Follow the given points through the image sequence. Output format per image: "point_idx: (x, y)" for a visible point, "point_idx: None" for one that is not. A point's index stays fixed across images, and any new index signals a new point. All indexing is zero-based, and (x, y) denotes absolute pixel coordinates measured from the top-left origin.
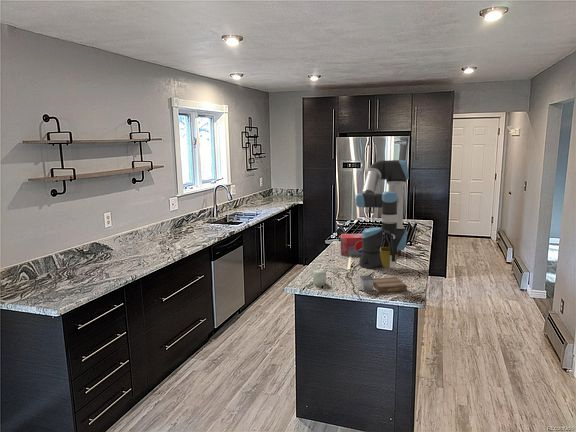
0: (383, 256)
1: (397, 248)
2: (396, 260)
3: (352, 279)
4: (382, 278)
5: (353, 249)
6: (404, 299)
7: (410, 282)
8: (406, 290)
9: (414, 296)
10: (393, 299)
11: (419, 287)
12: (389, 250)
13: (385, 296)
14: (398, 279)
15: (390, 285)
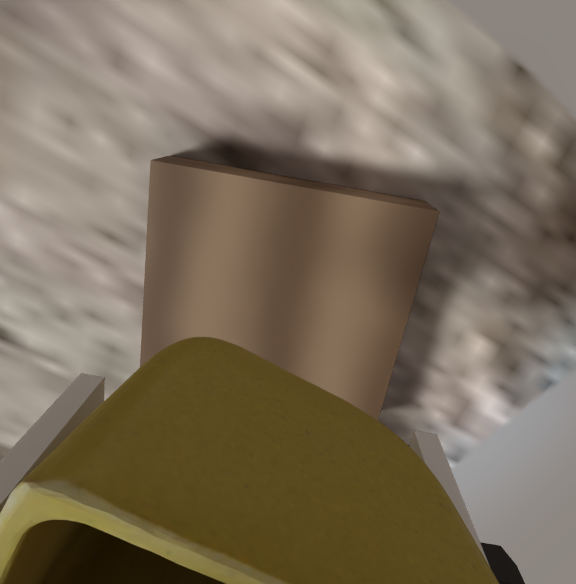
0: None
1: (164, 539)
2: (439, 484)
3: (14, 445)
4: (155, 315)
5: None
6: (572, 322)
7: (208, 3)
8: (425, 203)
9: (566, 209)
10: (525, 391)
11: (387, 3)
12: (31, 566)
13: (444, 410)
14: (232, 184)
15: (366, 348)
